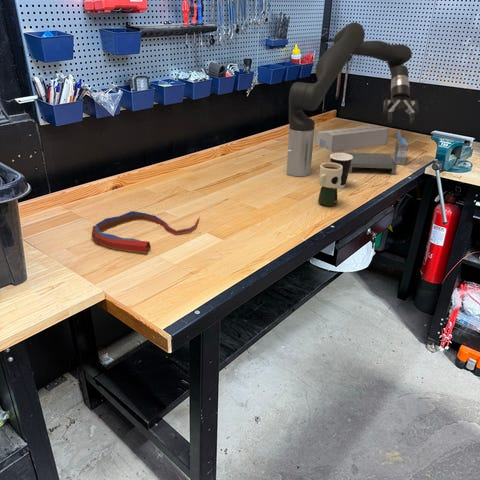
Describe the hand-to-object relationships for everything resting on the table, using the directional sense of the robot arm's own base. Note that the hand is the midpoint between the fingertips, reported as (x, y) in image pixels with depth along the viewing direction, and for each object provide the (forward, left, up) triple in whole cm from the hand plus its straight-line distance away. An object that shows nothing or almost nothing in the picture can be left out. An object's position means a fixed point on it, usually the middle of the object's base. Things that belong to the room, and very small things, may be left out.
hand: (401, 122), depth 192 cm
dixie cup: (-28, -40, -14) cm, 52 cm away
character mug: (-33, -57, -14) cm, 68 cm away
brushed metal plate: (-14, -19, -14) cm, 28 cm away
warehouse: (-18, +15, -15) cm, 27 cm away
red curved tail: (-87, -82, -15) cm, 120 cm away
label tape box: (0, -9, -14) cm, 17 cm away
